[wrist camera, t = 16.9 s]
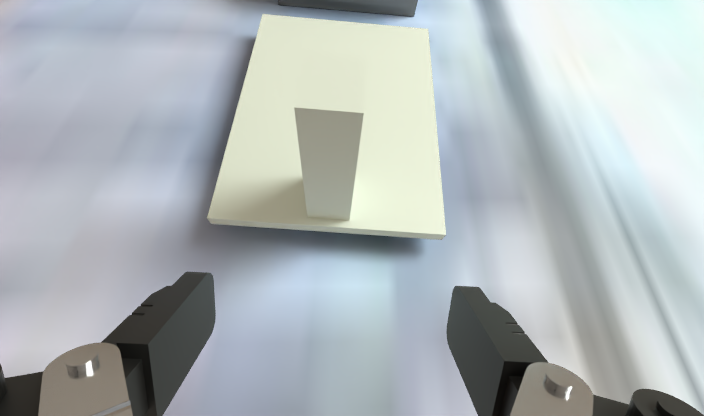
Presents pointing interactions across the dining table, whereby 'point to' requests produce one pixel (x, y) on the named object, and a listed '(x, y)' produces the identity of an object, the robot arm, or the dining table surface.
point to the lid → (334, 133)
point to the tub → (359, 5)
